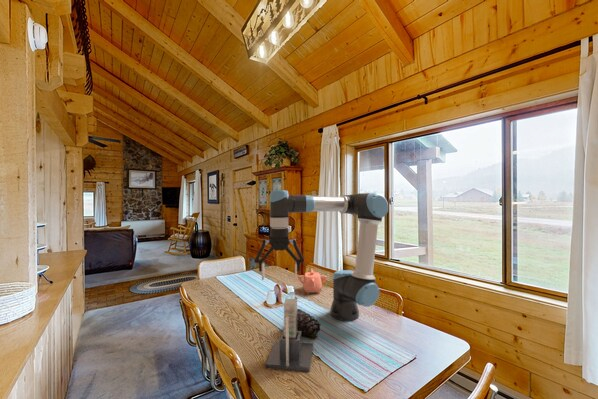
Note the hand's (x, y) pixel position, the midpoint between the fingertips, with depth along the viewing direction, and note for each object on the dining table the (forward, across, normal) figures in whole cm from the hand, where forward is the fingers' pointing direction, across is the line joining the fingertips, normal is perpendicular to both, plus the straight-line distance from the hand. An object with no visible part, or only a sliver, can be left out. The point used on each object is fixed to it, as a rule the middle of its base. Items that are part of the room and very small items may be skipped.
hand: (279, 279), depth 111 cm
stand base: (+29, -5, +6) cm, 30 cm away
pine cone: (+29, -10, -13) cm, 33 cm away
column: (+27, -5, +6) cm, 28 cm away
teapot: (+29, -17, -68) cm, 76 cm away
